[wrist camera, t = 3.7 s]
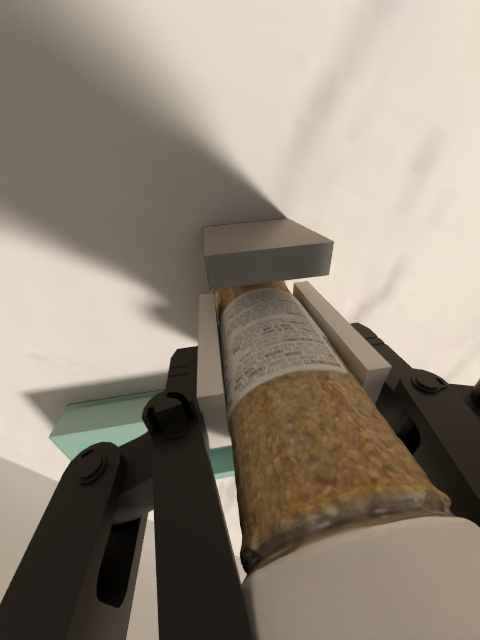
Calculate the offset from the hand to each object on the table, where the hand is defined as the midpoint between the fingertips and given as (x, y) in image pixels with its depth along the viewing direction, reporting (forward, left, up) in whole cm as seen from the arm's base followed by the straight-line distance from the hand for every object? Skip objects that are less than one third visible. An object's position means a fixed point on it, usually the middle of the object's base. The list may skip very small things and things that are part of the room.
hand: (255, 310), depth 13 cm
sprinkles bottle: (0, 0, -2) cm, 2 cm away
